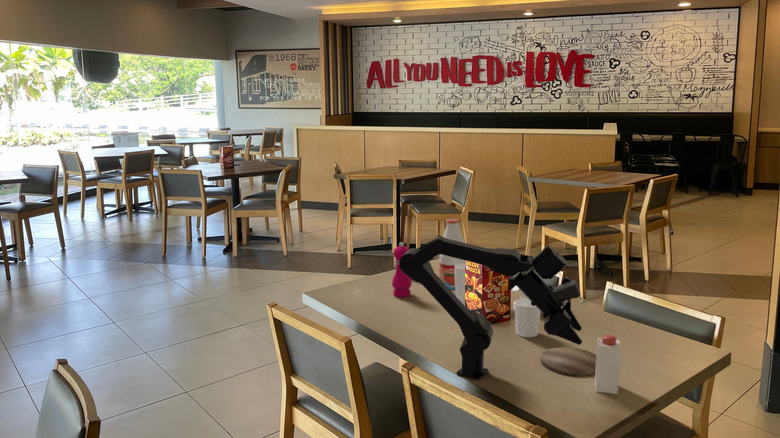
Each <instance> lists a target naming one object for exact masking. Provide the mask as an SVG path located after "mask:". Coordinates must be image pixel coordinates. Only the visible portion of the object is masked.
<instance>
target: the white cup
mask: <svg viewBox="0 0 780 438" xmlns="http://www.w3.org/2000/svg"><path fill="white" fill-rule="evenodd" d="M514 301H515V310H514V323H515V324H514V325H515V335H517V336H519V337H522V338H535V337H538V336H539V328H540V322H541V313H542V312H541V311H540V310H539V309H538V308H537V307H536V306H534V307H533V306H532V305H531V301H530V299H517V300H514Z"/></svg>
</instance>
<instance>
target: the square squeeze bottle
mask: <svg viewBox="0 0 780 438" xmlns="http://www.w3.org/2000/svg"><path fill="white" fill-rule="evenodd" d="M621 350H622V347H621V341H620V339H617V336H615V335H612V334H603V335H602V338H601V337H597V342H596V354H595V355H596V372H595V374H594V389H595V390H594V391H595V393H597V392H599V393H607V394H612V395H613V394H615V395H618V394H619V383H620V382H619V381H620V380H619V379H620V370H621V369H620V365H621Z"/></svg>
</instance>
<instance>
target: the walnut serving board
mask: <svg viewBox="0 0 780 438" xmlns="http://www.w3.org/2000/svg"><path fill="white" fill-rule="evenodd" d="M596 355H597V354H595V353H594V352H592V351H589V350H585V349H581V348H576V347H570V346H569V347H567V346H564V347H563V346H561V347H559V346H558V347H552V348H547V349H546V350H544V351H543V352H542V353H541V354H540V363H541V364H542V366H544V367H545V368H546V369H548V370H549V371H551V372H555V373H558V374H560V375H565V376H566V375H567V376H574V377H584V376H591V375H595V372H596Z"/></svg>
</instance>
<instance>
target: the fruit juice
mask: <svg viewBox="0 0 780 438" xmlns="http://www.w3.org/2000/svg"><path fill="white" fill-rule="evenodd" d="M445 224H446V227H445V230H444V232H443V234H442V237H444V238H447V239H451V240H455V241H459V242H463V243H466V241H465V239H464V236H462V235H463V234H462V233H461V229H460V219H459V218H454V217H453V218H447V219H445ZM438 261H439V264H438V265H439V269H438V271H439V273H438V275H439V276H438V277H439V278H440V279H441V281H442V282H443V283H444V284H445V285H446V286H447V287H448V288H449V289H450V290H451V291H452V293H453V294H454V295H455V296H456V290H455V265H457V264H466V260H462V259H458V258H454V257H450V256H446V255H442V254H439V259H438Z"/></svg>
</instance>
